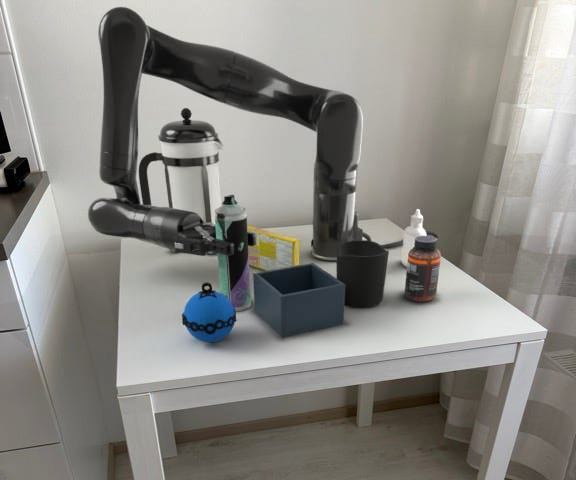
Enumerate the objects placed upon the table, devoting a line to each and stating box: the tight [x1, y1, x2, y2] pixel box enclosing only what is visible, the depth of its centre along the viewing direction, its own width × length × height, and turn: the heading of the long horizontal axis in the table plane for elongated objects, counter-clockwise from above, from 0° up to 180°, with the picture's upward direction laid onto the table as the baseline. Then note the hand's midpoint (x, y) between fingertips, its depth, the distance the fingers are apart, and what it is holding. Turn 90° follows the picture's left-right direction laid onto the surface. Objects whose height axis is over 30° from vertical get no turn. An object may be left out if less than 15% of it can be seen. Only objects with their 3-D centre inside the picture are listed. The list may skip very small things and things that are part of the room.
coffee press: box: [138, 107, 225, 255], centre depth 127 cm, size 17×16×30 cm
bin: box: [252, 262, 345, 339], centre depth 98 cm, size 12×12×7 cm
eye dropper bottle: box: [400, 208, 428, 268], centre depth 119 cm, size 4×6×12 cm
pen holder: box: [335, 239, 390, 309], centre depth 104 cm, size 9×9×10 cm
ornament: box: [181, 281, 237, 344], centre depth 90 cm, size 9×9×10 cm
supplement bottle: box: [404, 235, 442, 303], centre depth 104 cm, size 6×6×11 cm
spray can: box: [215, 194, 252, 312], centre depth 100 cm, size 6×6×20 cm
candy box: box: [247, 224, 301, 271], centre depth 118 cm, size 16×2×8 cm, turn 45°
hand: (243, 244), depth 97 cm, fingers closed on spray can, 5 cm apart
